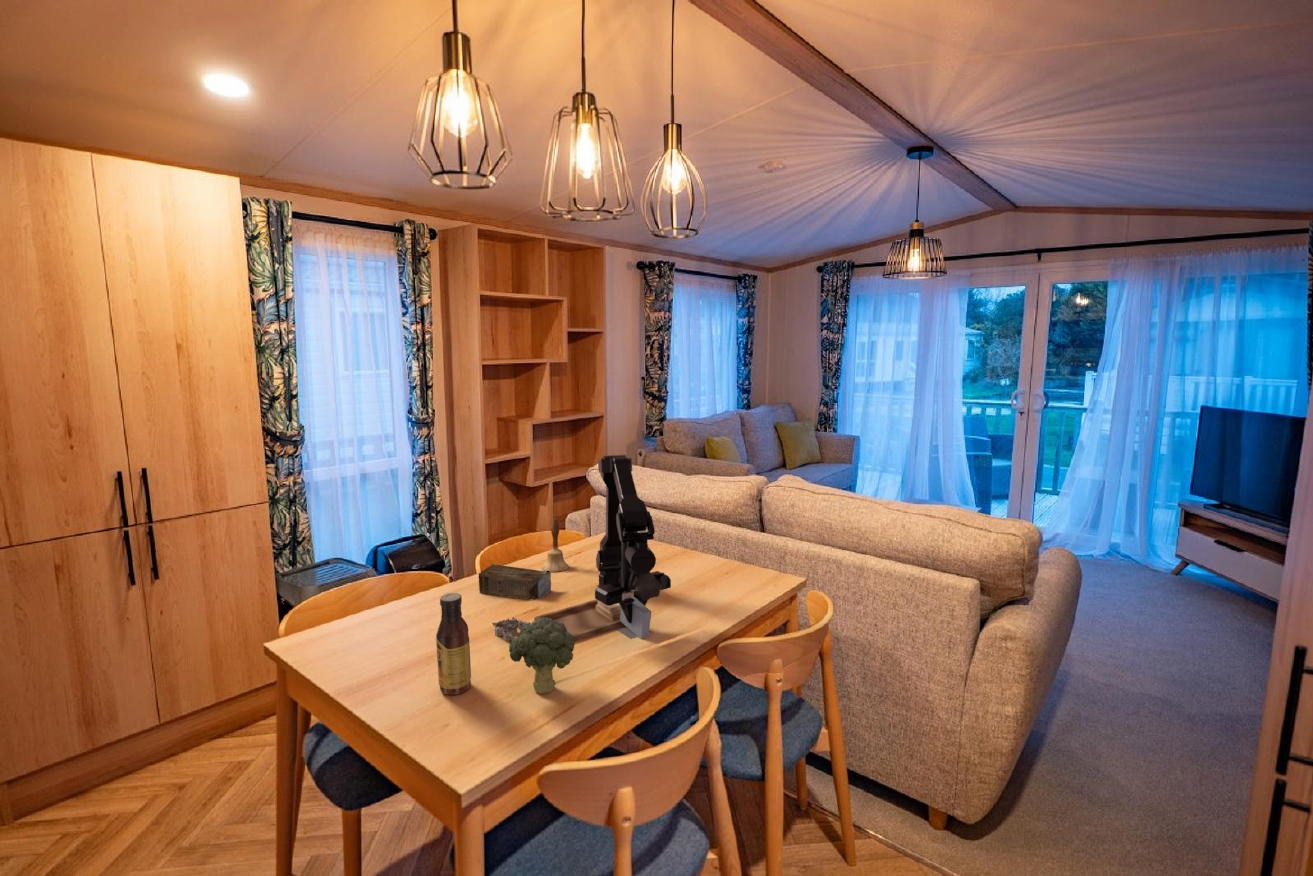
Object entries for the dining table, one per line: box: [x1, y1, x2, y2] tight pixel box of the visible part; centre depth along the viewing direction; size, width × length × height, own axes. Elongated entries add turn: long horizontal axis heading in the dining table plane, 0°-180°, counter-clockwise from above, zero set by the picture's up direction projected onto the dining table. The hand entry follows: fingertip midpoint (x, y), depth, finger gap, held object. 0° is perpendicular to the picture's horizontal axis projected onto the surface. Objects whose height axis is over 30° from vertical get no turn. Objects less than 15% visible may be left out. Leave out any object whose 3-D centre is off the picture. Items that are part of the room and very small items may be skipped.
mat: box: [616, 626, 652, 640], centre depth 148 cm, size 6×6×1 cm
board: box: [620, 594, 652, 640], centre depth 147 cm, size 2×9×7 cm, turn 37°
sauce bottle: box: [435, 592, 472, 696], centre depth 122 cm, size 6×6×20 cm
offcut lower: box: [596, 604, 621, 621], centre depth 158 cm, size 4×8×2 cm, turn 37°
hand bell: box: [541, 517, 570, 573], centre depth 191 cm, size 8×8×16 cm
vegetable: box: [508, 617, 575, 695], centre depth 122 cm, size 12×13×15 cm
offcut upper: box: [598, 600, 621, 614], centre depth 157 cm, size 4×6×2 cm, turn 37°
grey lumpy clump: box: [491, 617, 532, 642], centre depth 146 cm, size 11×8×4 cm
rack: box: [533, 599, 625, 642], centre depth 153 cm, size 20×15×2 cm
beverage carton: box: [478, 564, 552, 601], centre depth 173 cm, size 8×19×7 cm, turn 73°
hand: (633, 621), depth 148 cm, fingers closed on board, 2 cm apart
